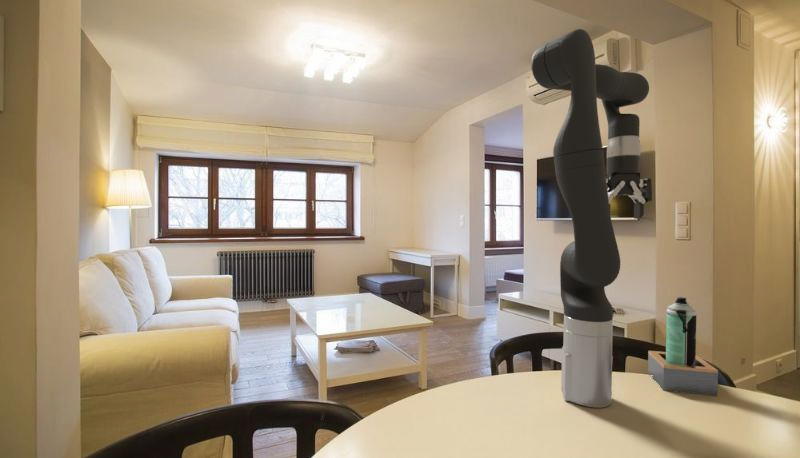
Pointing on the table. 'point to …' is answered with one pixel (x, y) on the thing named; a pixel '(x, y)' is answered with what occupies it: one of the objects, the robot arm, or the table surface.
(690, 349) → the spray can
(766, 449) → the table surface
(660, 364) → the grey open box
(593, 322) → the robot arm
